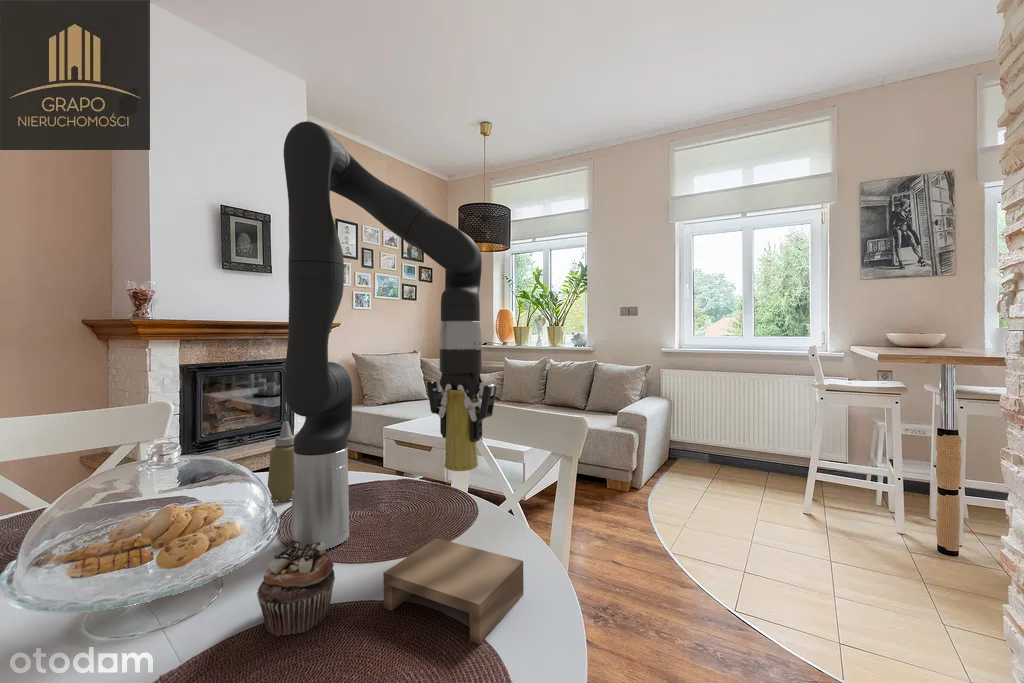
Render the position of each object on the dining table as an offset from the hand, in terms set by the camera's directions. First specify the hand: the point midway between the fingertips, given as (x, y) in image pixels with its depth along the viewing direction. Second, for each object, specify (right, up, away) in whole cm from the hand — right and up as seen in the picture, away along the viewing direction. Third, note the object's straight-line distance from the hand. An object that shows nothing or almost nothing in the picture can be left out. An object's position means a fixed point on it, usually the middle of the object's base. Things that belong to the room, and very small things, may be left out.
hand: (461, 438), depth 82 cm
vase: (0, -5, 0) cm, 5 cm away
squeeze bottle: (-44, -19, +24) cm, 54 cm away
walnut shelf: (+1, -20, -17) cm, 26 cm away
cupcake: (-20, -20, -20) cm, 35 cm away
